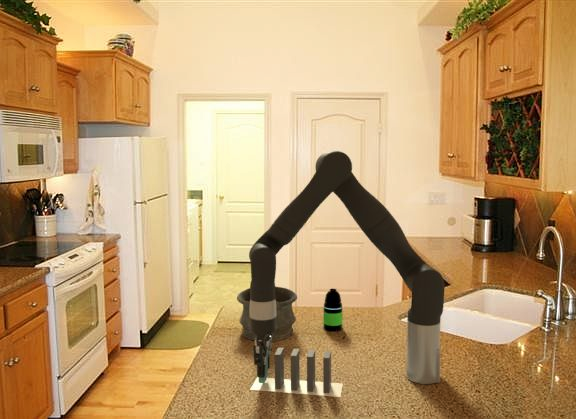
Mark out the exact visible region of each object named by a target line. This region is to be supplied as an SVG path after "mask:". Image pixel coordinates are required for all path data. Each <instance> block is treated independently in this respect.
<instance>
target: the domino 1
mask: <svg viewBox="0 0 576 419" xmlns="http://www.w3.org/2000/svg"><path fill="white" fill-rule="evenodd" d="M263 353H265V351H264V350H263ZM259 360H261V359H260V358H259ZM267 378H269V369H268V355H267V356H266V364H265V377H264V378H261V377H259V383H265V381H266V379H267Z"/></svg>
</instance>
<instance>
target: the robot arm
mask: <svg viewBox="0 0 576 419" xmlns="http://www.w3.org/2000/svg"><path fill="white" fill-rule="evenodd" d="M352 170H353V163H352V159H351V158H350V156H348V155H347V154H346V153H345V152H343V151H339V150H331V151H330V150H329V151H326V152H324V153H322V154H320V156H319V157H318V158H317V160H316V162H315V173H314V175H312V178H311V180H310V181H309V182H308V183H307V185H306V186H305V187H304V189H302V191H301V192H300V193H299V194H298V195H297V196H295V198H294V199H293V200H292V201H291V202H289V204H288V205H287V206H286V207H285V208H284V209H283V210H282V211H281V212H280V214H279V215H278V217H277V218H275V220H274V221H273V222H272V223H271V225H270V227H269V228H268V229H267V230H266V231H265V232H264V233H263V234H262V235H261V236H260V237H259V238H258V239H257V240H256V241H255V242H254V244H253V245H252V246H251V247H250V249H249V253H248V256H249V257H248V258H249V260H250V261H249V262H250V273H251V274H250V276H251V277H250V278H251V281H250V308H249V311H250V331H251V332H252V333H253V334H256V335H257V338H256V339H255V340H254V345H253V346H252V351H253V352H252V353H253V364H254V365H255V366H256V375H257V377H261V378H264V377H265V364H266V356H267V355H268V370H270V368H271V358H270V357H271V356H272V351H273V341H272V335H273V333H274V332H275V331H276V329H277V324H276V301H275V286H276V281H275V280H276V272H277V254H278V253H279V252H280V251H281V250H282V249H283V247H284V246H286V245H289V243H291V242H292V240H293V239H294V238H295V237H296V236H297V235H298V233H299V232H300V230H302V228H303V227H304V226H305V225H306V223H307V222H308V220H309V219H310V218H311V216H312V215H313V214H314V213H315V211H316V210H317V209H318V207H320V206H321V204H322V203H323V202H324V201H325V200H326V199H327V198H328V197H329V196H330V195H331V194H332V193H334V194H335V196H336V197H337V198H339V200H340V201H341V203H342V204H343V205H344V207H345V208H346V209H347V211H348V213H349V215H350V216H351V217H352V218H353V220H354V222H355V223H356V224H357V225H358V227H359V228H360V229H361V231H362V232H363V233H364V235H365V236H366V237H367V238H368V240H369V242H371V243H372V244H373V245H374V247H375V248H376V249H378V251H379V252H380V253H381V254H383V255H384V256H385V257H386V258H387V259H388V260H389V262H390V263H391V264H392V265H393V266H394V267H395V269H396V271H397V273H398V274H399V275H400V277H401V278H402V280H403V282H404V284H405V285H406V287H407V289H408V290H409V291H410V292H411V302H410V303H411V306H410V308H409V309H408V311H407V321H406V322H407V323H406V324H407V325H406V331H407V332H406V378H407V379H408V380H409V381H411V382H414V383H416V384H419V385H420V384H421V385H431V384H437V383H441V354H442V353H441V348H440V347H441V344H440V343H441V320H442V319H441V317H442V314H443V312H444V303H445V302H444V301H445V281H444V277H443V275H442V274H441V272H439V271H438V270H436V269H435V268H434V267H432V266H430V265H429V264H428V263H427V262H426V261H425V260H424V259H422V257H421V256H420V255H419V254H418V253H417V252H416V251H415V250H414V248H413V247H412V246H411V244H410V243H409V241H408V239H407V237H406V234H405V233H404V231H403V229H402V227H401V226H400V224H399V223H398V221H397V219H396V218H395V217H394V216H393V215H392V213H391V212H390V210H389V209H388V208H386V206H385V205H384V204H383V203H382V202H381V201H380V200H378V198H376V197H375V196H374V195H373V194H372V193H370V192H369V191H368V190H367V189H366V188H365V187H364V186H363V185H362V184H361V183H360V181H359V180H358V179H357V177H356V176H355V175H354V173H353V171H352ZM263 350H264V351H265V353H263ZM259 358H260V359H261V360H259ZM257 377H256V378H257Z"/></svg>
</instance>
